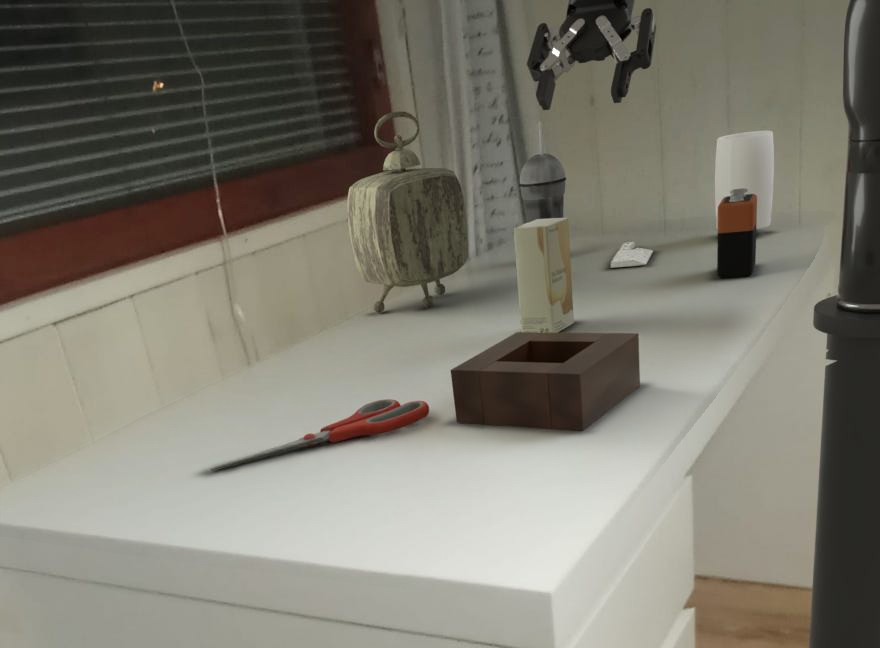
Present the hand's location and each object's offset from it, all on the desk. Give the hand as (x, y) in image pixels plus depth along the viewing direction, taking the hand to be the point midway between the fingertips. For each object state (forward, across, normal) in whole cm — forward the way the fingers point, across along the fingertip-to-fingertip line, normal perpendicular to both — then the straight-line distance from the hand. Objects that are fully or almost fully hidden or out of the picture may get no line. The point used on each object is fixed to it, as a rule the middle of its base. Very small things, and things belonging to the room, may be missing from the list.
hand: (579, 101), depth 114 cm
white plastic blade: (-4, -3, +39) cm, 40 cm away
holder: (+42, +9, -11) cm, 45 cm away
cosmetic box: (+24, -1, +9) cm, 26 cm away
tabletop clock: (+14, -26, +20) cm, 36 cm away
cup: (-13, +11, +48) cm, 51 cm away
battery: (+5, +15, +28) cm, 33 cm away
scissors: (+51, -9, -20) cm, 55 cm away
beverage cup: (-6, -17, +42) cm, 45 cm away
